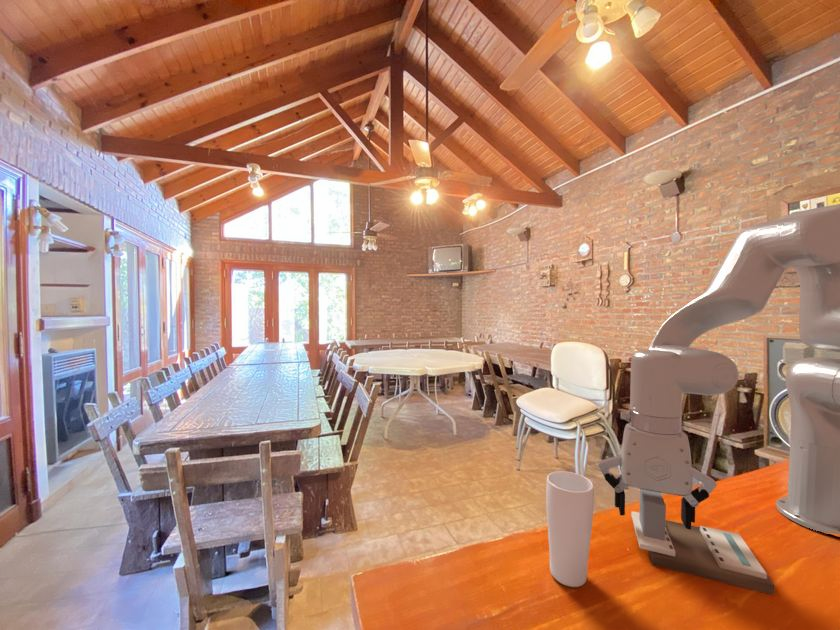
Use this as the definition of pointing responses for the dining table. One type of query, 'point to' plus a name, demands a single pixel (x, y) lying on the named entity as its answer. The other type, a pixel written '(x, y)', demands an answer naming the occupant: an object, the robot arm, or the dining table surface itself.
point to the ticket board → (713, 557)
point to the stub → (652, 524)
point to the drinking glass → (569, 525)
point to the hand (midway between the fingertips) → (652, 517)
